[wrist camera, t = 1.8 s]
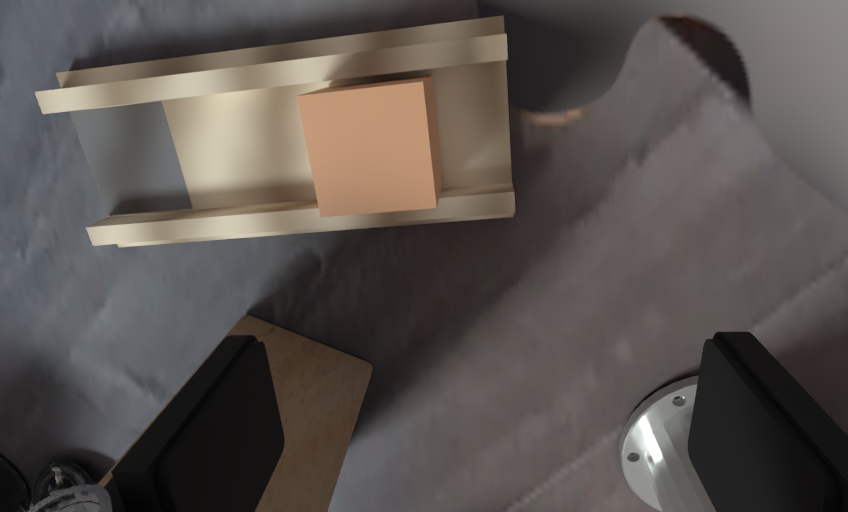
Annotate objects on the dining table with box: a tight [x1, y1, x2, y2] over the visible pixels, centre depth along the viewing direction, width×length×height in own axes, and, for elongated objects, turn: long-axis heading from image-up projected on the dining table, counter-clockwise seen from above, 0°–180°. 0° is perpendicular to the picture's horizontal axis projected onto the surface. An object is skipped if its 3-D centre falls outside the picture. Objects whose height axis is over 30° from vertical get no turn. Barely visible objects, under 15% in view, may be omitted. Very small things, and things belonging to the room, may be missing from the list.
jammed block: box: [297, 75, 443, 217], centre depth 27 cm, size 6×6×5 cm
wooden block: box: [98, 315, 372, 512], centre depth 29 cm, size 10×10×20 cm
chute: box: [35, 16, 515, 247], centre depth 30 cm, size 26×11×3 cm, turn 97°
